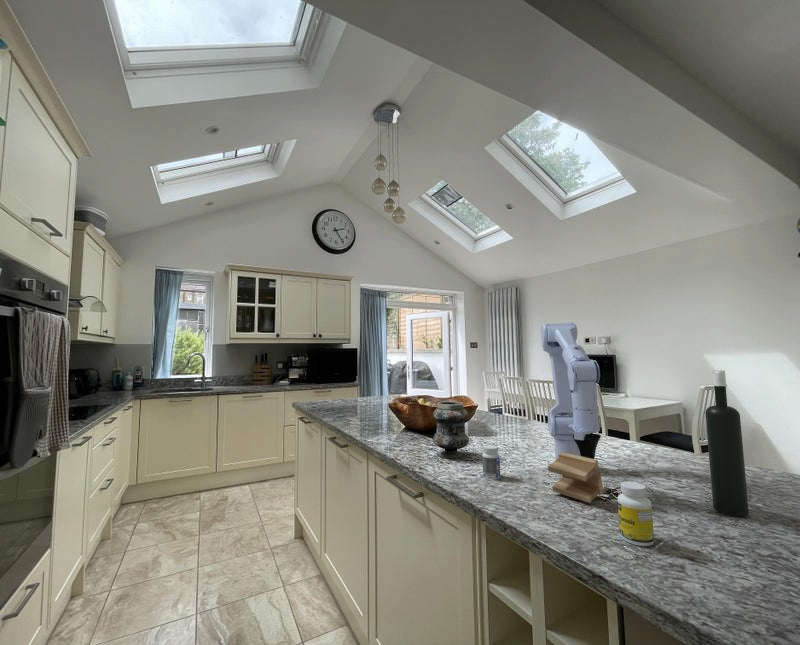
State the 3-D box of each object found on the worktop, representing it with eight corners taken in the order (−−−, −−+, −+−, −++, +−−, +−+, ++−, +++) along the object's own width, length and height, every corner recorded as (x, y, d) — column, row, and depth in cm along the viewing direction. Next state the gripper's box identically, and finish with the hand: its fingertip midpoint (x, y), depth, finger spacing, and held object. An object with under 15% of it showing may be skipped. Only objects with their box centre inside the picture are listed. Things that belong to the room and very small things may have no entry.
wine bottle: (752, 518, 76) (738, 371, 78) (715, 512, 79) (704, 370, 81) (745, 508, 81) (732, 369, 83) (711, 503, 84) (699, 369, 86)
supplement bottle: (613, 533, 71) (609, 480, 72) (639, 531, 71) (636, 479, 72) (633, 548, 65) (629, 490, 66) (662, 546, 66) (658, 489, 67)
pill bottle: (501, 480, 100) (499, 449, 101) (483, 480, 101) (482, 448, 102) (499, 475, 105) (498, 444, 106) (482, 474, 106) (481, 444, 107)
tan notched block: (553, 494, 90) (567, 481, 94) (590, 506, 83) (603, 492, 87) (547, 463, 90) (561, 452, 94) (583, 472, 82) (597, 459, 86)
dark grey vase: (472, 461, 118) (470, 404, 120) (434, 462, 118) (433, 405, 120) (466, 451, 130) (464, 399, 132) (432, 452, 131) (430, 400, 132)
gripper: (576, 404, 102) (578, 454, 100) (559, 411, 90) (562, 468, 89) (604, 406, 97) (608, 459, 96) (591, 413, 86) (594, 474, 85)
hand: (588, 464), depth 92 cm, fingers closed
